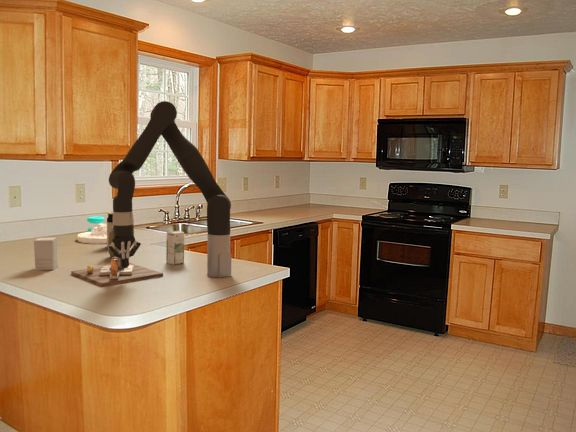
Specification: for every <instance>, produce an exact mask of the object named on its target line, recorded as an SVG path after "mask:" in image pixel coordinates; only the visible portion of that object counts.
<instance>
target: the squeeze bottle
mask: <svg viewBox="0 0 576 432" xmlns="http://www.w3.org/2000/svg"><path fill="white" fill-rule="evenodd" d="M111 230H112V231H111V232H110V233H109V242H108V245H110V244H111V243H112V240H113V227H111ZM114 247H115V250H116V251H117V253H118V254H119V251H118V249H117V247H116V246H115V245H114ZM107 251H108V254H109V257H110V258H112V257H115V256H114V254H113V253H112V252H111V251H110V250H109V249H108V248H107Z"/></svg>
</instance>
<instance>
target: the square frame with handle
mask: <svg viewBox="0 0 576 432" xmlns="http://www.w3.org/2000/svg"><path fill="white" fill-rule="evenodd" d="M101 267H102V269H101V271H100V275H110V279H119V276H120V275H132V272H133V269H134V265H129V266H128V268H122V270H118V259H112V258H111V259H110V265H103V266H101Z"/></svg>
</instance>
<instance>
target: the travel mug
mask: <svg viewBox="0 0 576 432" xmlns="http://www.w3.org/2000/svg"><path fill="white" fill-rule="evenodd" d="M106 225H107V244H106V246H107V245H108V242H109V233H110V232H111V231H112V230H111V227H113V211H109V212H107V218H106Z"/></svg>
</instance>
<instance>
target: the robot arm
mask: <svg viewBox="0 0 576 432" xmlns="http://www.w3.org/2000/svg"><path fill="white" fill-rule="evenodd" d="M177 115H178V112H177V107H176V106H175V104H174V103H172V102H170V101H166V100H164V101H159V102H158V103H157V104H156V105H154V107H153V108H152V110H151V111H150V119H149V121H148V123H147V124H146V126H145V128H144V129H143V131H142V132H141V134H140V135H139V136H138V138H137V139H135V142H134V143H133V144H132V146H131V147H130V149H129V150H128V152H127V154H126V155H125V156H124V158H123V159H122V160H121V161H120V162H119V163H118V164H117V165H116V166H115V167H114V168H113V169H112V170H111V172H110V174H109V177H108V183H109V185H110V186H111V187H112V188H113V189H117V194H116V195H115V196H114V197H113V199H112V212H113V240H112V243H111V244H110V245H107V244H106V248H107V250H108V249H109V250H110V251H111V252H112V253H113V254H114V256H115V257H117V258H120V264H121V267H122V268H128V266H129V263H130V258H131V257H133V256H135V254H136V253H137V251H138V250H139V249H140V247H141V243H140V242H139V241H137V240H136V238H135V229H134V228H135V227H134V226H135V225H134V224H135V223H134V222H135V220H134V214H133V197H134V193H135V190H136V189H135V188H136V178H135V175H134V173H135V172H137V171H139V170H140V169H141V168H142V167H143V166H144V163H145V162H146V161H147V159H148V157H149V156H150V154H151V152H152V150H153V149H154V147H155V145H156V143H157V141H158V140H159V138H161V137H162V138H163V139H164V140H165V142H166V143H167V145H168V147H169V148H170V150H171V152H172V154H173V155H174V157H175V159H176V160H177V163H178V164H179V166H180V168H182V171H183V172H184V173H185V175H186V176H187V177H188V178H189V179H190V181H192V183H193V184H194V185H195V186H196V187H197V188H198V189H199V191H200V192H201V193H202V195H203V198H204V200H205V201H206V229H207V240H206V242H207V246H206V248H207V249H206V251H207V259H206V260H207V261H206V263H207V264H206V267H207V268H206V270H207V271H206V273H207V274H206V275H207V277H211V278H219V279H221V278H227V277H231V276H232V256H233V255H232V252H231V209H232V203H231V200H230V199H229V197H228V196H227V194H226V193H225V192H224V190H222V188H221V187H220V185H218V183H217V181H216V179H215V177H214V176H213V173H212V172H211V170H210V167H209V165H208V164H207V162H206V161H205V159H204V157H203V156H202V154H201V152H200V151H199V149H198V148H197V147H196V145H194V144H193V143H192V142H191V141H190V140H189V139H187V138H186V136H184V135H183V134H182V132H181V130H180V129H179V126H178V125H177V123H176V119H177ZM114 245H115V246H116V247H117V249H118V251H119V254H118V253H117V251H116V250H115V247H114Z"/></svg>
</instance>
